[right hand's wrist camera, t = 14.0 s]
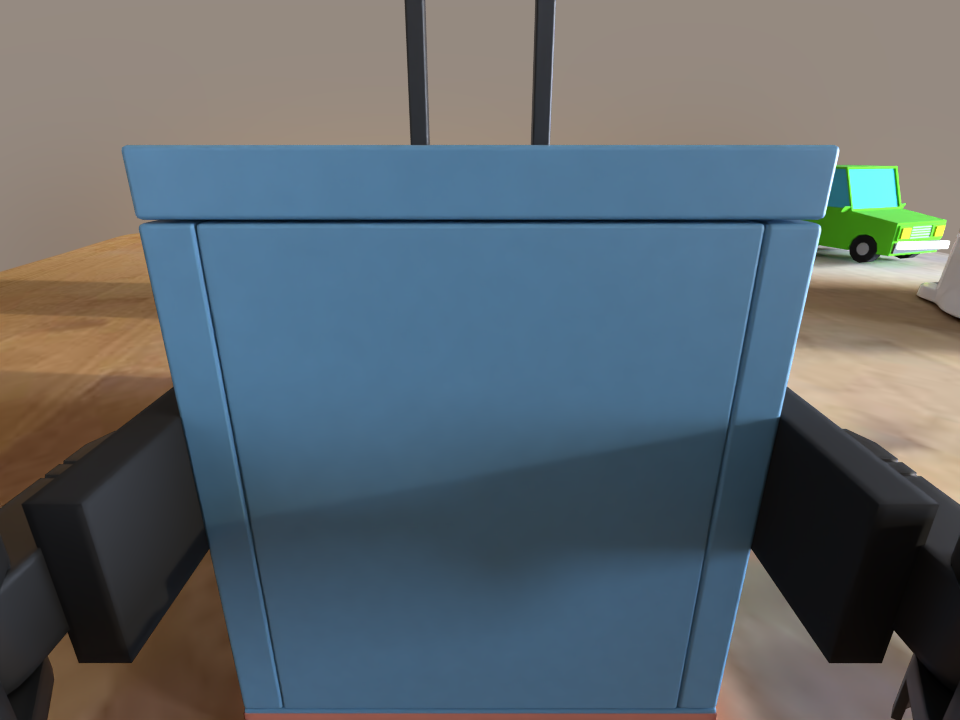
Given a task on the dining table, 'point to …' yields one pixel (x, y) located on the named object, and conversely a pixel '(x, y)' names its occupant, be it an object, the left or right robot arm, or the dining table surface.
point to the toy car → (873, 215)
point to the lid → (480, 171)
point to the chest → (480, 454)
